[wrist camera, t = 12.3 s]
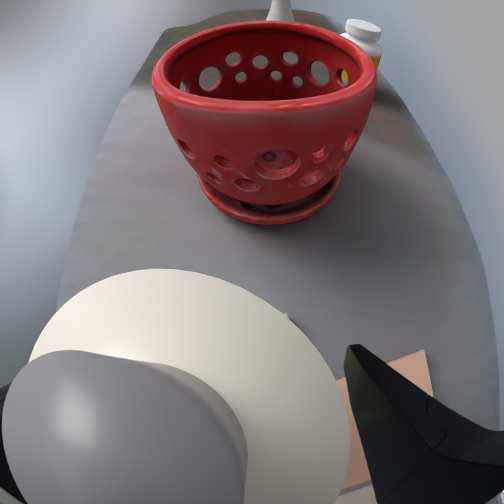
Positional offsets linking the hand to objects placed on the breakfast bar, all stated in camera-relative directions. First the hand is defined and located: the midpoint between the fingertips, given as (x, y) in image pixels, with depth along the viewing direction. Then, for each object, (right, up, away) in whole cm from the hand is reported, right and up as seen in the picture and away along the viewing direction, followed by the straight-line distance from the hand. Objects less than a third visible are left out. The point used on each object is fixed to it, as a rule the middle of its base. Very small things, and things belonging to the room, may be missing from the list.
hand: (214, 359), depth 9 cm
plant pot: (+2, +10, +15) cm, 18 cm away
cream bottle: (0, -5, +7) cm, 8 cm away
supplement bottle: (+14, +24, +21) cm, 35 cm away
